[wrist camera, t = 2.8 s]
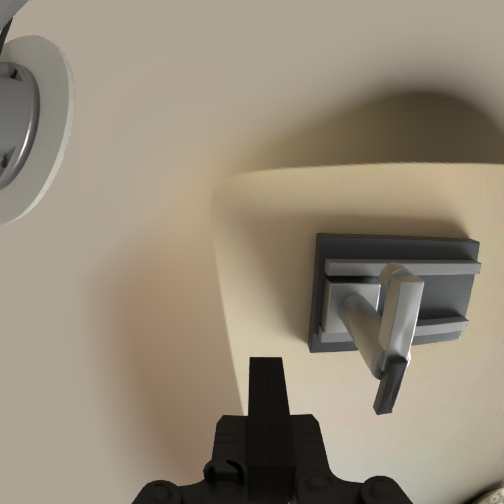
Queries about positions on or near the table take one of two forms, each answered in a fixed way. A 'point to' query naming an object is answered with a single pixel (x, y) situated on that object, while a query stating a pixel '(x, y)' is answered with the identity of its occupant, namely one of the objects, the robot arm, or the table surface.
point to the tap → (376, 323)
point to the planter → (491, 497)
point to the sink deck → (417, 262)
